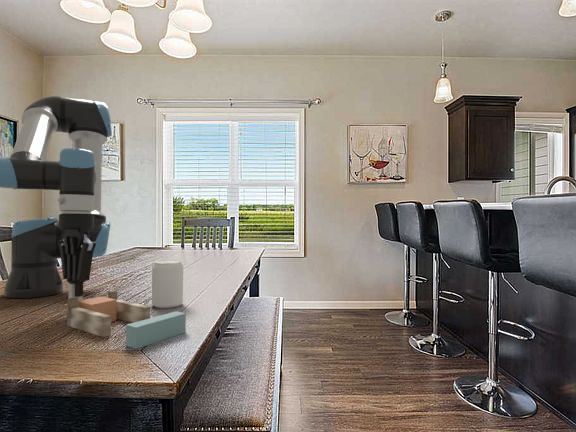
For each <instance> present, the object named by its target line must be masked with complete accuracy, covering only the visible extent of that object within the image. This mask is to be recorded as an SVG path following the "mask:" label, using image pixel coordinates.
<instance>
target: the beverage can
mask: <svg viewBox="0 0 576 432" xmlns="http://www.w3.org/2000/svg"><path fill="white" fill-rule="evenodd" d="M182 304H184V264H183V263H182V260H176V259H172V260H171V259H166V260H165V259H163V260H157V261H154V264H153V265H152V269H151V305H152V306H153V307H155V308H156V309H171V308H177V307H179V306H180V305H182Z"/></svg>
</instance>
